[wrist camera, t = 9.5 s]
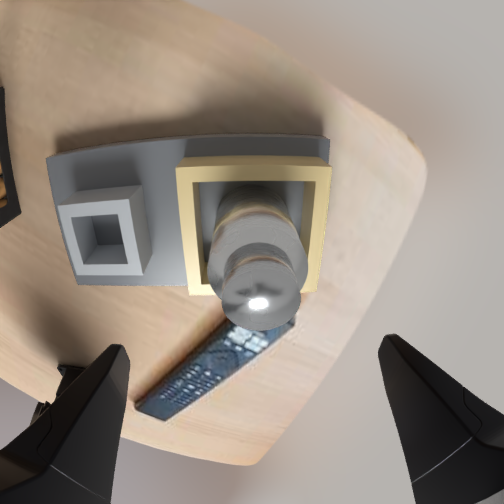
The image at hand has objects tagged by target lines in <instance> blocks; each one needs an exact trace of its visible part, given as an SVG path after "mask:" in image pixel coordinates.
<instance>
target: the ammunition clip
mask: <svg viewBox="0 0 504 504" xmlns="http://www.w3.org/2000/svg"><path fill="white" fill-rule="evenodd" d="M20 214H21V209H20V205H19V201H18V196H17V192H16V187H15V182H14V177H13V171H12V165H11V159H10V152H9V145H8V137H7V127H6V114H5V90H4V88H3V87H0V228H1V227H2V226H4V225H5V224H7V223H8V222H9V221H11V220H12V219H14V218H15V217H17V216H18V215H20Z"/></svg>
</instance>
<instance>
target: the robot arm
mask: <svg viewBox="0 0 504 504" xmlns="http://www.w3.org/2000/svg"><path fill="white" fill-rule="evenodd" d="M378 358H379V362H380V367H381V371H382V376H383V381H384V386H385V390H386V394H387V397H388V400H389V403H390V407H391V410H392V413H393V416H394V419H395V423H396V427H397V429H398V433H399V437H400V440H401V444H402V448H403V452H404V455H405V459H406V463H407V467H408V471H409V475H410V479H411V483H412V489H413V493H414V498H415V502H416V504H504V415H503V414H502V413H500V412H499V411H497V410H496V409H494V408H492V407H491V406H490V405H488V404H487V403H485V402H484V401H482V400H481V399H479V398H478V397H477V396H475V395H474V394H473V393H471V392H470V391H469V390H468V389H466V388H465V387H463V386H462V385H461V384H460V383H459V382H457V381H456V380H455V379H454V378H452V377H451V376H450V375H449V374H447V373H446V372H445V371H443V370H442V369H441V368H440V367H438V366H437V365H436V364H434V363H433V362H432V361H431V360H429V359H428V358H427V357H426V356H424V355H423V354H422V353H420V352H419V351H418V350H416V349H415V348H414V347H413V346H411V345H410V344H409V343H407V342H406V341H405V340H403V339H402V338H401V337H400V336H398V335H397V334H389V335H385V336H384V338H383V341H382V343H381V345H380V348H379V350H378ZM57 369H58V370H59V372H60V373H61V375H62V376H63V377H62V380H61V382H60V384H59V387H58V389H57V392H56V398H55V401H54V402H53V403H52V404H50V403H49V402H47V401H46V402H45V404H44V403H40V402H38V404H37V406H36V409H35V412H34V414H33V417H32V420H31V423H30V426H29V427H28V428H27V429H25V430H24V431H23V432H22V433H21V434H20V435H19V436H17V437H16V438H15V439H14V440H13V441H11V442H10V443H9V444H8V445H7V446H5V447H4V448H3V449H1V450H0V504H111V503H110V502H111V495H112V486H113V479H114V471H115V464H116V458H117V451H118V446H119V440H120V434H121V429H122V423H123V418H124V413H125V408H126V401H127V391H128V381H129V371H130V360H129V357H128V355H127V353H126V350H125V348H124V346H123V345H121V344H111V345H110V346H109V347H108V348H107V349H106V350H105V351H104V352H103V353H102V354H101V355H100V356H99V357H98V358H97V359H96V360H95V361H94V362H93V363H92V364H91V365H90V366H89V367H88V368H87V369H85V368H79V367H73V366H67V365H61V364H59V365H58V367H57Z"/></svg>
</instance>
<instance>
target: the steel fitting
mask: <svg viewBox="0 0 504 504" xmlns="http://www.w3.org/2000/svg"><path fill="white" fill-rule="evenodd" d="M207 274H208V280H209V283H210V285H211V287H212V289H213V291H214V292H215V294H216V295H217V296H218V297H219V298H220V299H221V300H222V308H223V311H224V313H225V315H226V316H227V317H228V318H229V319H230V320H231V321H232V322H233V323H234V324H236V325H238V326H240V327H242V328H245V329H249V330H256V331H262V330H269V329H273V328H276V327H279V326H281V325H283V324H285V323H286V322H288V321H289V320H290V319H291V318H292V317H293V316H294V315H295V313H296V312H297V310H298V308H299V306H300V302H301V294H300V291H301V289H302V288H303V286H304V284H305V282H306V279H307V275H308V260H307V256H306V253H305V251H304V248H303V246H302V244H301V241H300V239H299V236H298V234H297V231H296V229H295V226H294V224H293V222H292V219H291V217H290V214H289V212H288V210H287V207H286V205H285V203H284V201H283V200H282V198H281V197H280V196H279V195H278V194H277V193H276V192H275V191H273V190H272V189H270V188H268V187H265V186H262V185H253V184H252V185H244V186H240V187H238V188H236V189H234V190H232V191H231V192H229V193H228V194H227V195H226V196H225V197H224V198H223V199H222V201H221V202H220V204H219V207H218V210H217V214H216V220H215V225H214V231H213V237H212V243H211V249H210V255H209V261H208V268H207Z"/></svg>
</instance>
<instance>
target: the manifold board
mask: <svg viewBox="0 0 504 504" xmlns="http://www.w3.org/2000/svg"><path fill="white" fill-rule="evenodd" d="M329 148H330V139H328V138H326V137H324V136H316V135H297V134H258V133H245V134H206V135H188V136H174V137H162V138H151V139H142V140H133V141H125V142H118V143H111V144H104V145H98V146H92V147H86V148H80V149H75V150H70V151H65V152H60V153H56V154H54V155H52V156H49V157H47V158H46V163H47V169H48V175H49V180H50V185H51V190H52V195H53V200H54V204H55V209H56V213H57V217H58V221H59V225H60V229H61V233H62V236H63V240H64V243H65V247H66V250H67V254H68V257H69V260H70V263H71V266H72V269H73V272H74V275H75V278H76V281H77V284H78V285H117V286H188V288H189V295H216V294H215V292H214V291H213V289H212V287H211V285H210V283H209V280H208V274H207V268H208V261H209V255H210V249H211V243H212V237H213V231H214V225H215V220H216V214H217V210H218V207H219V204H220V202H221V201H222V199H223V198H224V197H225V196H226V195H227V194H228V193H229V192H231V191H232V190H234V189H236V188H238V187H240V186H244V185H252V184H253V185H262V186H265V187H268V188H270V189H272V190H273V191H275V192H276V193H277V194H278V195H279V196H280V197H281V198H282V200H283V201H284V203H285V205H286V207H287V210H288V212H289V214H290V217H291V219H292V222H293V224H294V226H295V229H296V231H297V234H298V236H299V239H300V241H301V244H302V246H303V248H304V251H305V253H306V256H307V260H308V275H307V279H306V282H305V284H304V286H303V288H302V289H301V291H300V293H301V292H316V290H317V284H318V277H319V271H320V264H321V257H322V250H323V243H324V236H325V228H326V220H327V211H328V202H329V193H330V183H331V173H332V167H331V166H330V165H329V164H328V161H329Z"/></svg>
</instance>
